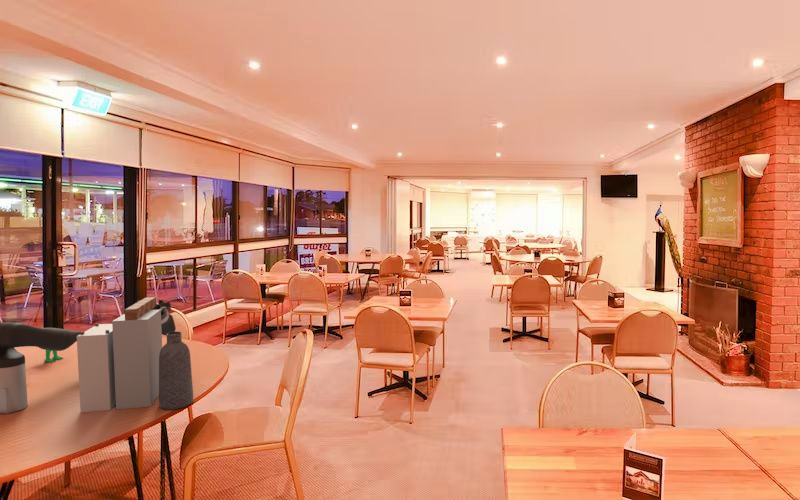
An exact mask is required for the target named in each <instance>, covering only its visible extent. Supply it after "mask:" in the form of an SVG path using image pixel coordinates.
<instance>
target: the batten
mask: <svg viewBox="0 0 800 500" xmlns="http://www.w3.org/2000/svg"><path fill="white" fill-rule="evenodd" d="M156 303H157V297H156V296H152V297H151V296H147V297H144V298H143V299H141V300H140V301H139V302H137V303H136V302H135V303H134V304H132V305H130V306H128V307H127V308H124V314H125V320H137V319H138V318H140V317H141V316H143V315H144V314H145V313H147V312H148V311H150V310H151V309H153V308H154V307H156Z"/></svg>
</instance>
